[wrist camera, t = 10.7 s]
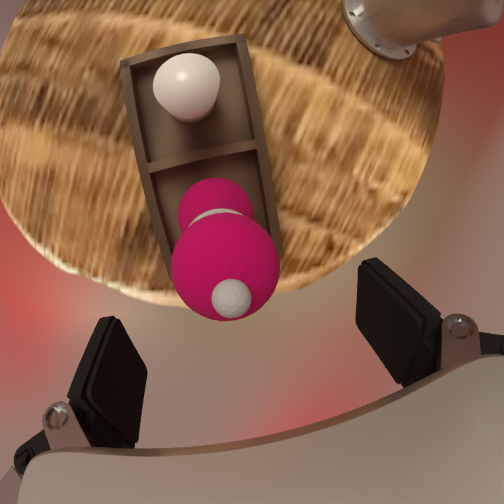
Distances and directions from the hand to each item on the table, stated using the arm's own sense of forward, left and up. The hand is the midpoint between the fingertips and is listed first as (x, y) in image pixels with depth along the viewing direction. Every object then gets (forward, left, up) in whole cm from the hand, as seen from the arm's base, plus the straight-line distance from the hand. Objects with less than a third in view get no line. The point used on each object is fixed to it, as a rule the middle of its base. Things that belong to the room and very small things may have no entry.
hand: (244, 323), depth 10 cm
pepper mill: (0, 0, -22) cm, 22 cm away
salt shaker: (0, -12, -22) cm, 24 cm away
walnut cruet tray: (0, -6, -22) cm, 23 cm away
